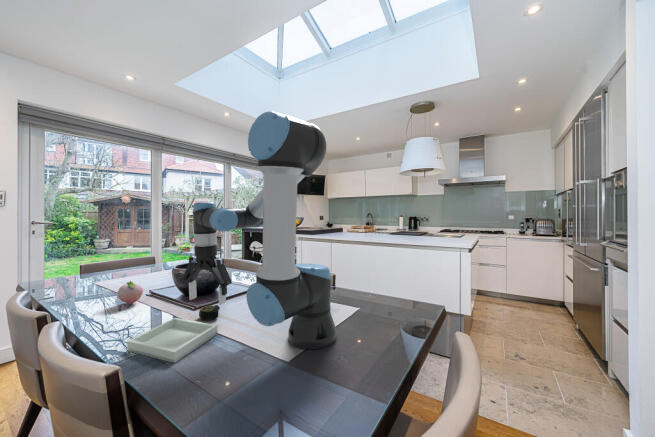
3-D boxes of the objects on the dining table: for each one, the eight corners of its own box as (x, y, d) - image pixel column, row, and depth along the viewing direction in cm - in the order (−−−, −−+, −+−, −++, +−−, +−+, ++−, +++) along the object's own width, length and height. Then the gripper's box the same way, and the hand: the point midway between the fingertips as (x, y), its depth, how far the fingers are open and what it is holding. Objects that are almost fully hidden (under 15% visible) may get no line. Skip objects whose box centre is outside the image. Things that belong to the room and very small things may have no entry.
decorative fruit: (114, 305, 110) (113, 281, 110) (137, 298, 117) (136, 276, 116) (123, 310, 105) (121, 285, 104) (146, 303, 112) (145, 280, 111)
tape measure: (218, 320, 96) (218, 310, 95) (197, 323, 94) (197, 313, 93) (220, 312, 102) (219, 303, 102) (200, 315, 100) (200, 305, 100)
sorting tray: (217, 334, 86) (217, 325, 85) (174, 362, 70) (174, 352, 70) (175, 326, 91) (175, 317, 91) (127, 351, 76) (127, 341, 76)
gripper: (240, 244, 96) (242, 301, 97) (187, 240, 103) (189, 293, 105) (226, 248, 88) (228, 309, 90) (170, 244, 96) (173, 300, 98)
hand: (207, 301), depth 98 cm, fingers open, 13 cm apart
